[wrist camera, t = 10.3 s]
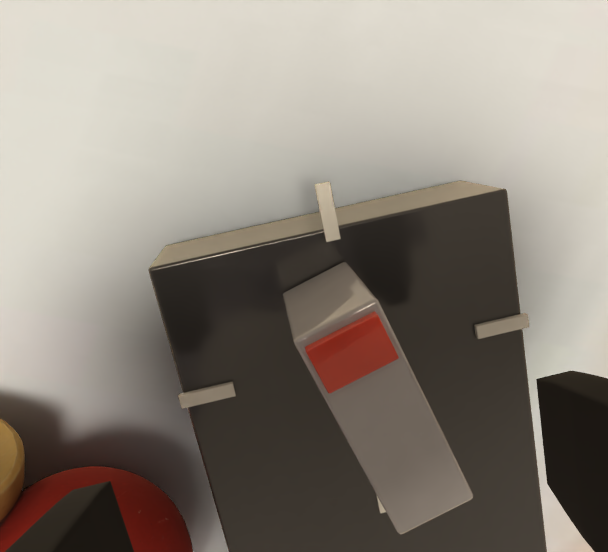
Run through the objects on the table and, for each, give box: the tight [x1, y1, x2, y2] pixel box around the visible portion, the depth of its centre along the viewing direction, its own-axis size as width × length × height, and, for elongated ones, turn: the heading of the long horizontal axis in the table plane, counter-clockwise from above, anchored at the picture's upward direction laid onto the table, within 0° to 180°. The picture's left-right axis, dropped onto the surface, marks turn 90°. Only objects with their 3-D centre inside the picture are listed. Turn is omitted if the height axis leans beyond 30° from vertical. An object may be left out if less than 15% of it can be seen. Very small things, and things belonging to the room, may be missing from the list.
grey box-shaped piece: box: [283, 262, 473, 534], centre depth 13 cm, size 5×2×4 cm, turn 27°
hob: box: [148, 181, 547, 552], centre depth 16 cm, size 12×9×3 cm
